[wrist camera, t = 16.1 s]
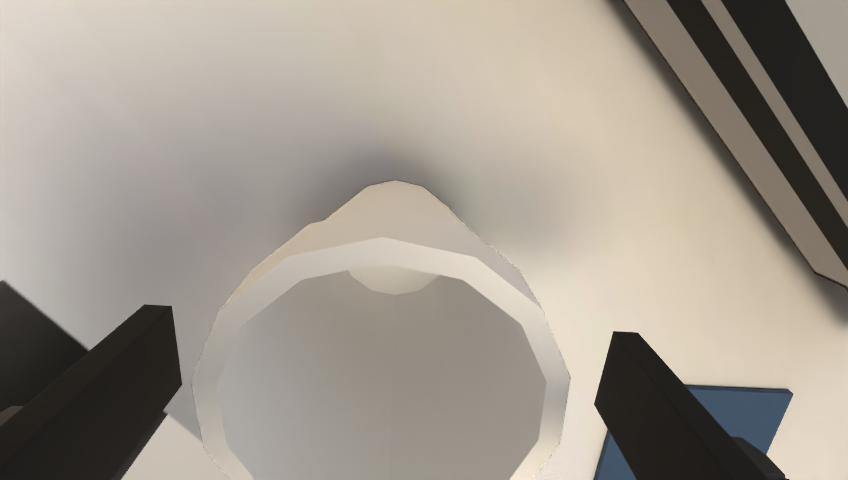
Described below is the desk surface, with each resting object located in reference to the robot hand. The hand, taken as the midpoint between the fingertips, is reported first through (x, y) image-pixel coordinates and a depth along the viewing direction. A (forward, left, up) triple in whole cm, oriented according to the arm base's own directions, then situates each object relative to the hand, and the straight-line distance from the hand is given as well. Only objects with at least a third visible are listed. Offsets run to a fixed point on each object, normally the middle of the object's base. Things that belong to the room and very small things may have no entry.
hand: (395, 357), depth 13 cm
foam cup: (0, 0, -11) cm, 11 cm away
